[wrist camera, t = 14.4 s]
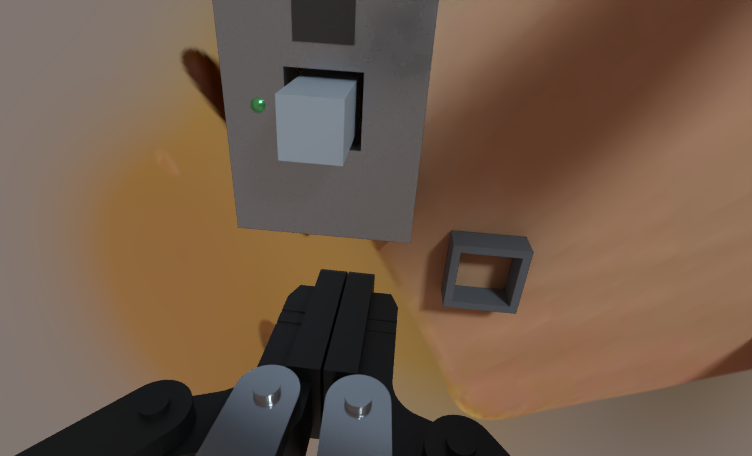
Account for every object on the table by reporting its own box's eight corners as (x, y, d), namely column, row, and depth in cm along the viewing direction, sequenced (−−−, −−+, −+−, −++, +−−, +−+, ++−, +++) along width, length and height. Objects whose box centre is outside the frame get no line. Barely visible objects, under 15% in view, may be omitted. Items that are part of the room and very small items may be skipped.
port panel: (441, -51, 28) (445, -57, 24) (410, 219, 38) (410, 243, 34) (230, -64, 28) (203, -72, 25) (254, 205, 38) (237, 228, 35)
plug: (361, 72, 32) (344, 99, 24) (359, 125, 34) (342, 166, 26) (308, 68, 32) (274, 93, 24) (309, 121, 34) (278, 160, 26)
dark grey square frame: (526, 237, 38) (533, 252, 35) (510, 296, 41) (516, 313, 39) (451, 230, 38) (453, 245, 36) (441, 289, 41) (442, 306, 39)
